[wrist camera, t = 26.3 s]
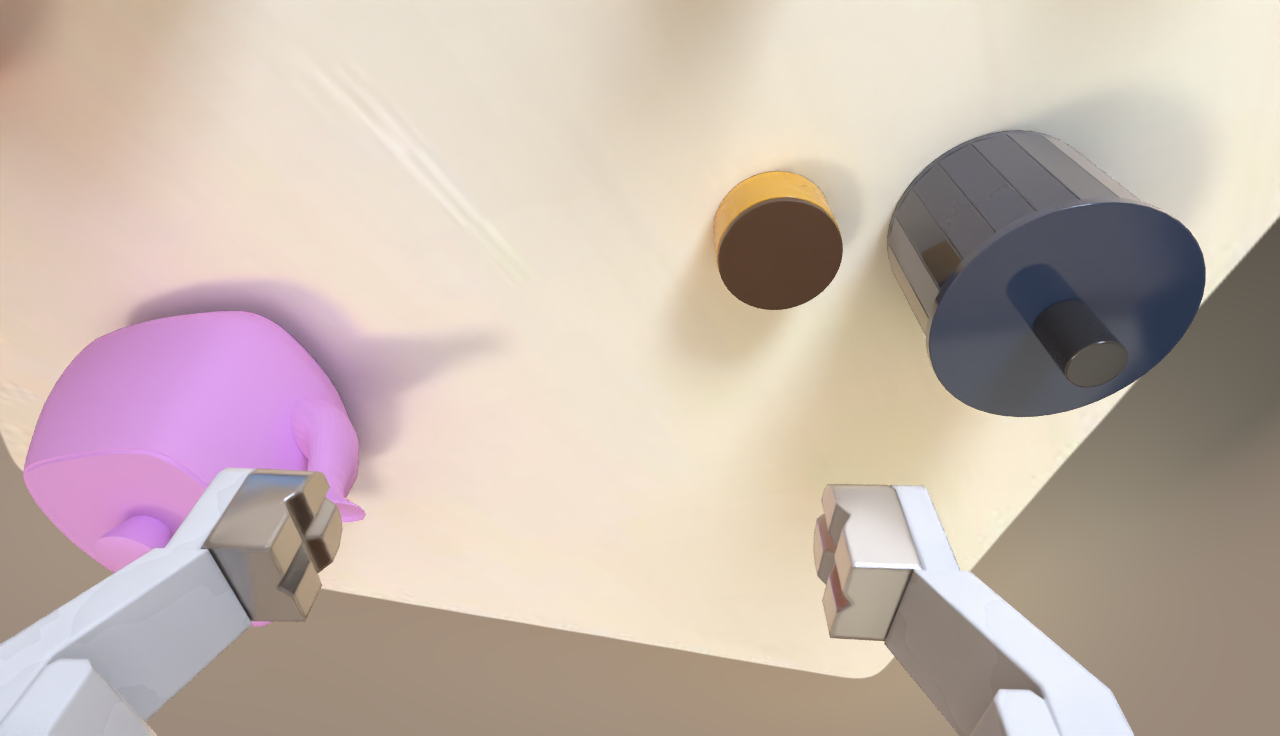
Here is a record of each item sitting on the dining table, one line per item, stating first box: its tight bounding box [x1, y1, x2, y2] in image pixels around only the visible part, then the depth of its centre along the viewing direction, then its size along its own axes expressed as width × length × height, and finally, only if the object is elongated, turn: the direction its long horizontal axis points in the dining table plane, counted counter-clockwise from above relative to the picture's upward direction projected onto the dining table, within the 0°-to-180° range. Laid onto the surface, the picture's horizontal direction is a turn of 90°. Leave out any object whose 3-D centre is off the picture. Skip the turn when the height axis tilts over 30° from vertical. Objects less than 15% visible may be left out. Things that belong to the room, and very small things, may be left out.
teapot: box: [23, 311, 366, 626], centre depth 46 cm, size 23×21×15 cm
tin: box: [714, 171, 843, 310], centre depth 40 cm, size 7×7×4 cm
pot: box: [887, 130, 1142, 336], centre depth 38 cm, size 12×12×10 cm
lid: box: [926, 197, 1205, 417], centre depth 33 cm, size 12×12×5 cm
